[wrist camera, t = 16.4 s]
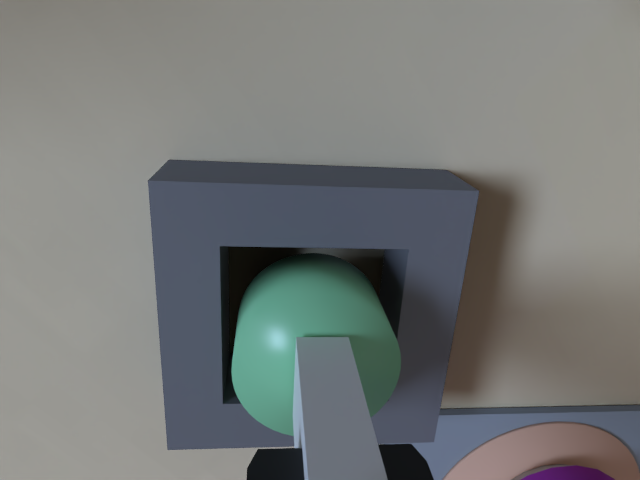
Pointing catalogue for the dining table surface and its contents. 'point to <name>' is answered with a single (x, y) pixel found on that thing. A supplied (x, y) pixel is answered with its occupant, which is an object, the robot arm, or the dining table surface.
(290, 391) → the button
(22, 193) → the dining table surface
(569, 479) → the beverage can
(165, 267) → the button housing
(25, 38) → the dining table surface
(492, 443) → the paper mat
